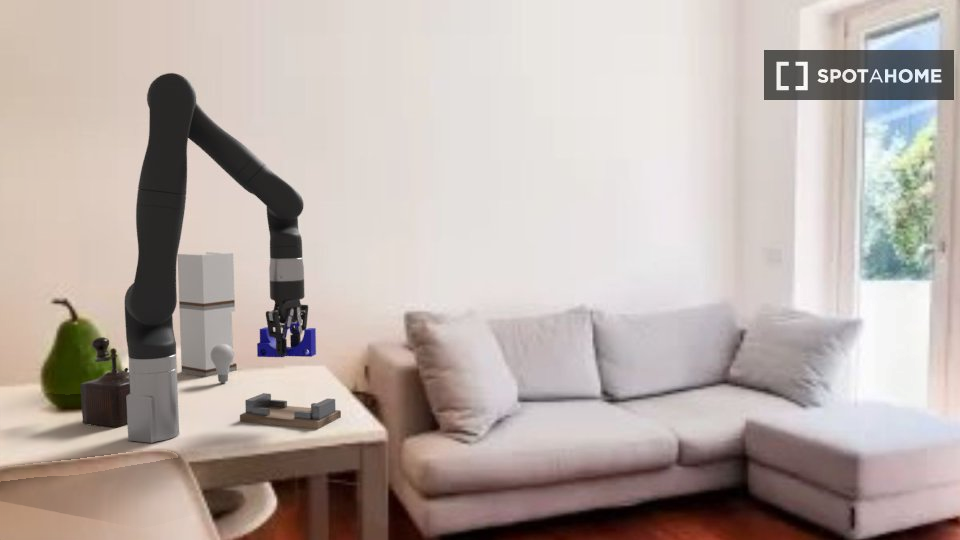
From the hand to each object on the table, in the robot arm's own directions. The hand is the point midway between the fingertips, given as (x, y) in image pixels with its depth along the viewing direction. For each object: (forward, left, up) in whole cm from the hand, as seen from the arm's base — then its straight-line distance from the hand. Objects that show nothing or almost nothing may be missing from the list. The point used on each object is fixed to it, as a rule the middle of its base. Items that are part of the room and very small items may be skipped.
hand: (288, 352), depth 171 cm
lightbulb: (+26, +38, -15) cm, 49 cm away
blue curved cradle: (0, 0, -1) cm, 1 cm away
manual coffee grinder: (-12, +40, -15) cm, 45 cm away
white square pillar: (+38, +52, -15) cm, 66 cm away
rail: (0, 0, -15) cm, 15 cm away
